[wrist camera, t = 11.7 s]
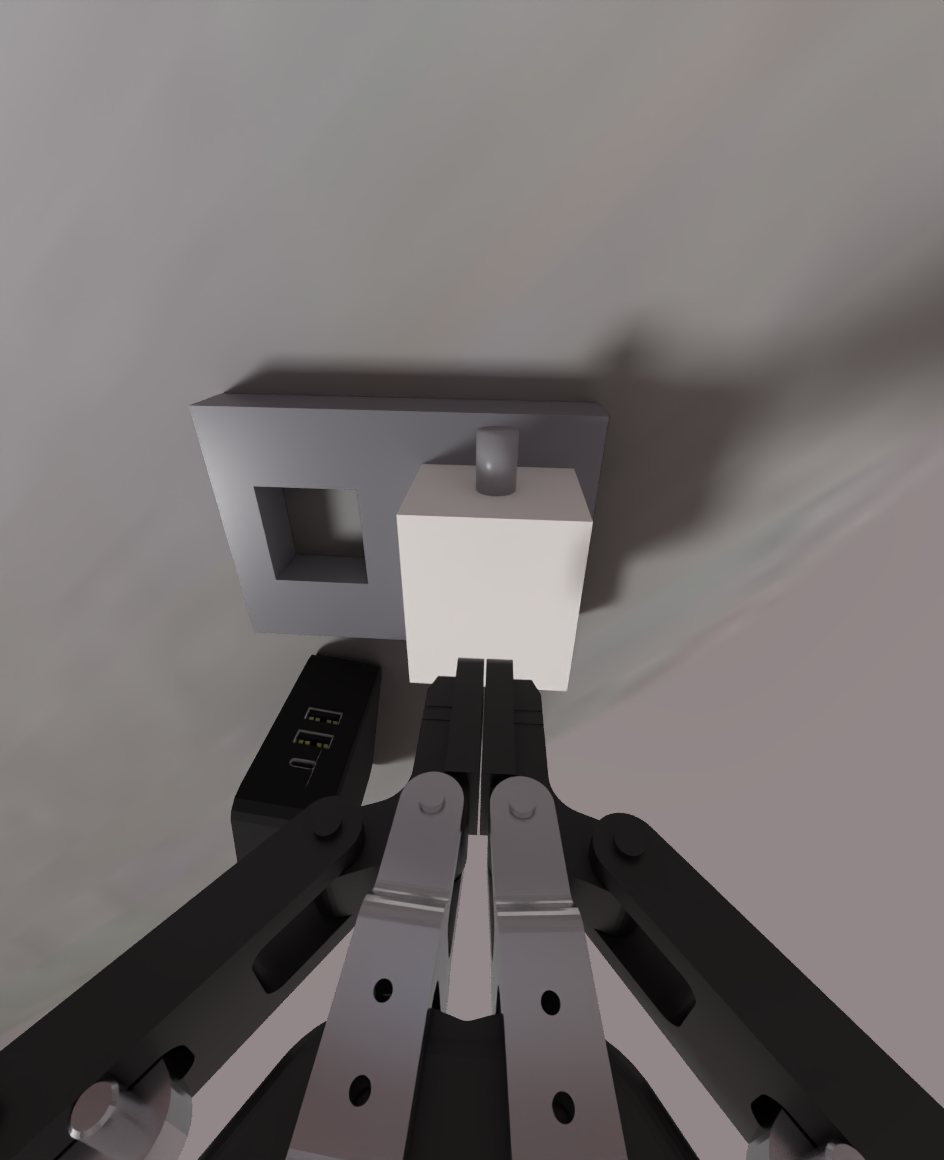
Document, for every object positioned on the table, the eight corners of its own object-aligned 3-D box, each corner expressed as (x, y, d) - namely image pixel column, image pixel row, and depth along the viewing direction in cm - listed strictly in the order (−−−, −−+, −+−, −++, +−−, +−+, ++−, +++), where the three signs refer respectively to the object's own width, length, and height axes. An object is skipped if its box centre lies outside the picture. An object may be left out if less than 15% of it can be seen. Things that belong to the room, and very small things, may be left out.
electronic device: (384, 660, 28) (328, 823, 19) (372, 767, 33) (325, 932, 25) (313, 647, 28) (226, 805, 19) (312, 757, 33) (244, 919, 25)
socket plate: (222, 393, 21) (188, 405, 18) (598, 402, 20) (609, 416, 18) (274, 604, 26) (254, 632, 24) (567, 618, 25) (572, 648, 23)
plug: (427, 400, 20) (391, 450, 14) (574, 404, 19) (603, 456, 13) (434, 585, 24) (410, 682, 18) (552, 591, 24) (566, 691, 18)
